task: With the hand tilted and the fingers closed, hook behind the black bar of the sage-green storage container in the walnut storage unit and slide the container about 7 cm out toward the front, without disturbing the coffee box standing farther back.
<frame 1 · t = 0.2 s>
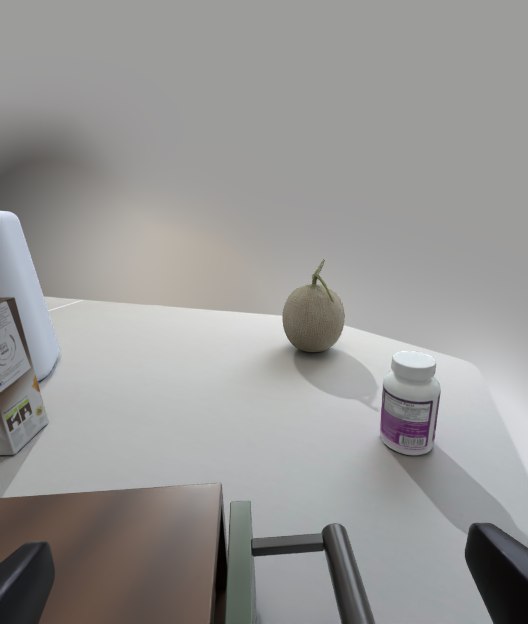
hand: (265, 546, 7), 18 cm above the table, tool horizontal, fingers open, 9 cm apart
fruit: (314, 350, 60), on the table
plastic bottle: (5, 375, 55), on the table
pill bottle: (405, 441, 37), on the table
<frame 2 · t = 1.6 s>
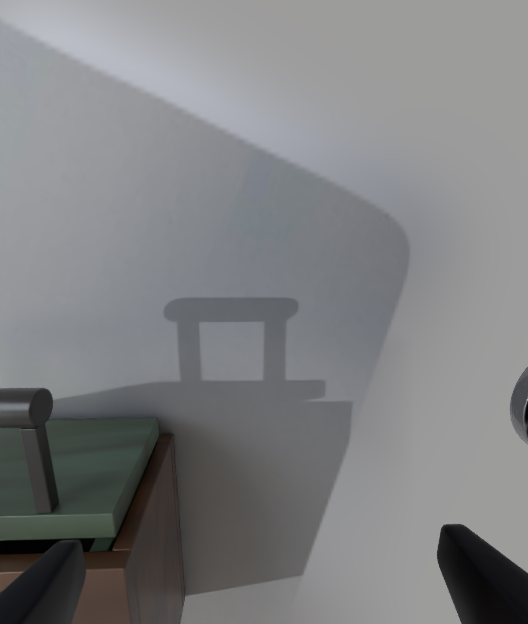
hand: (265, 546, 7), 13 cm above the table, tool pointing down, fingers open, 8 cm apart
storage unit: (92, 523, 23), on the table
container: (41, 522, 17), point 4 cm above the table, slide at 0.5 cm
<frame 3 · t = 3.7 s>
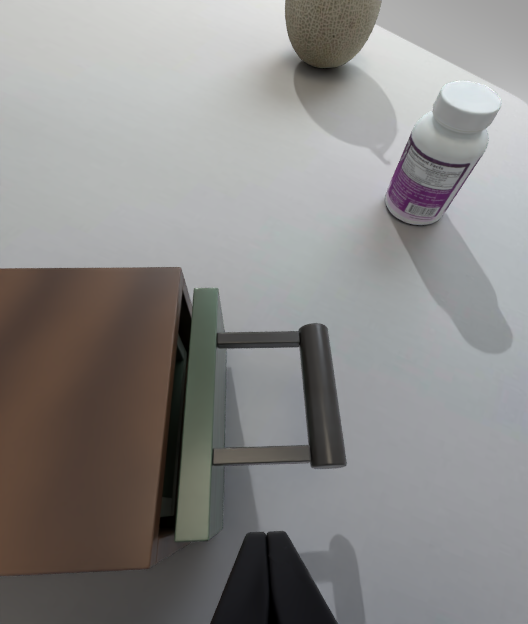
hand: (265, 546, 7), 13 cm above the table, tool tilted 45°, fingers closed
fruit: (323, 65, 43), on the table
storage unit: (83, 432, 21), on the table
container: (146, 412, 17), point 4 cm above the table, slide at 0.5 cm
pill bottle: (411, 207, 31), on the table
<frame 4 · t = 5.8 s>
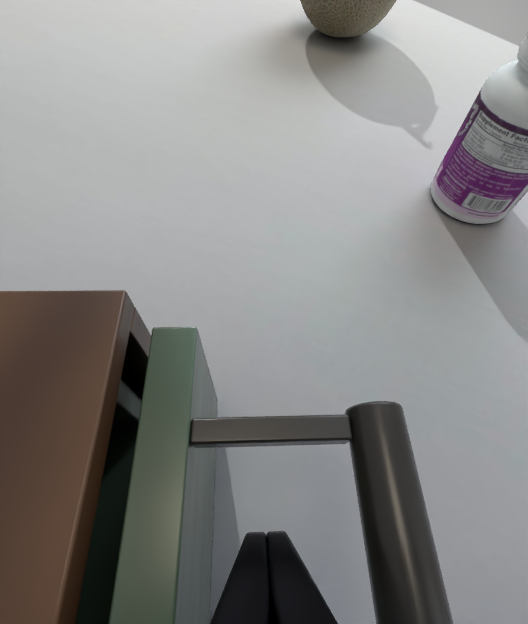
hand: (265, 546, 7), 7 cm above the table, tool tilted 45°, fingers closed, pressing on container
fruit: (341, 36, 36), on the table
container: (63, 554, 9), point 4 cm above the table, slide at 0.5 cm, touching gripper
pill bottle: (464, 201, 24), on the table
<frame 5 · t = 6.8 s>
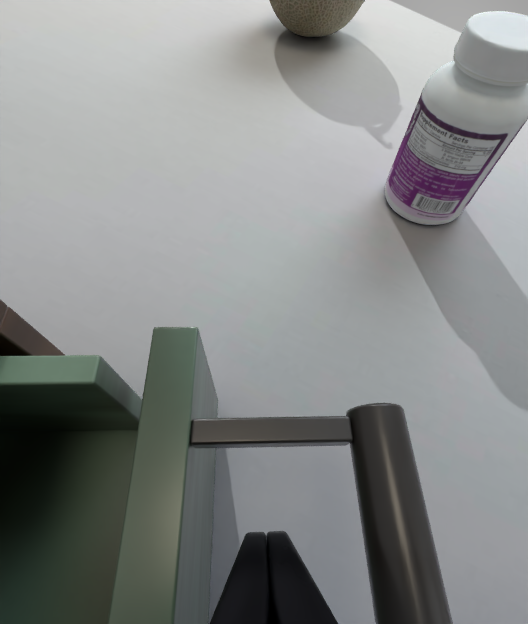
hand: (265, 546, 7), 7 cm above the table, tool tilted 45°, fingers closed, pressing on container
fruit: (312, 35, 36), on the table
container: (63, 554, 9), point 4 cm above the table, slide at 3.9 cm, touching gripper
pill bottle: (419, 202, 24), on the table
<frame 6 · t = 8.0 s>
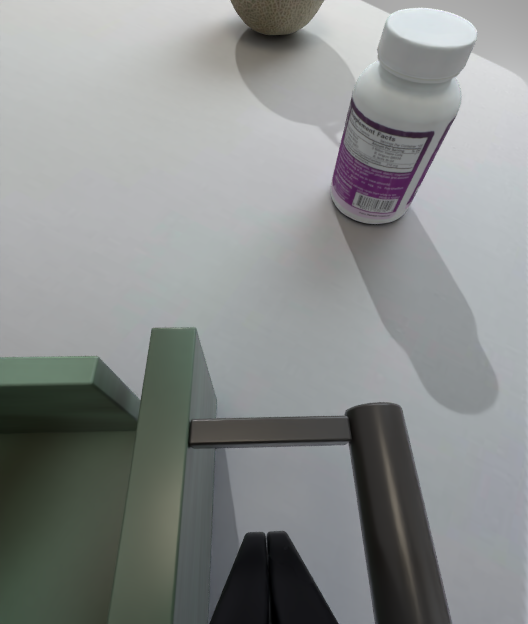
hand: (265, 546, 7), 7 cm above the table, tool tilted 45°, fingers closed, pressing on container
fruit: (276, 34, 36), on the table
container: (62, 555, 9), point 4 cm above the table, slide at 7.4 cm, touching gripper
pill bottle: (366, 201, 23), on the table
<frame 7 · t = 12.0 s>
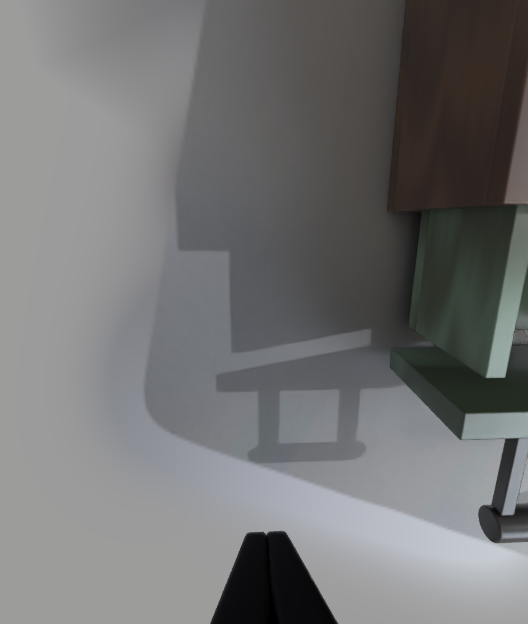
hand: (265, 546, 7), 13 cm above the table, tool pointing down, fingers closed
storage unit: (515, 67, 17), on the table
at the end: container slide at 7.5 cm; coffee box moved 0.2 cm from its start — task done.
